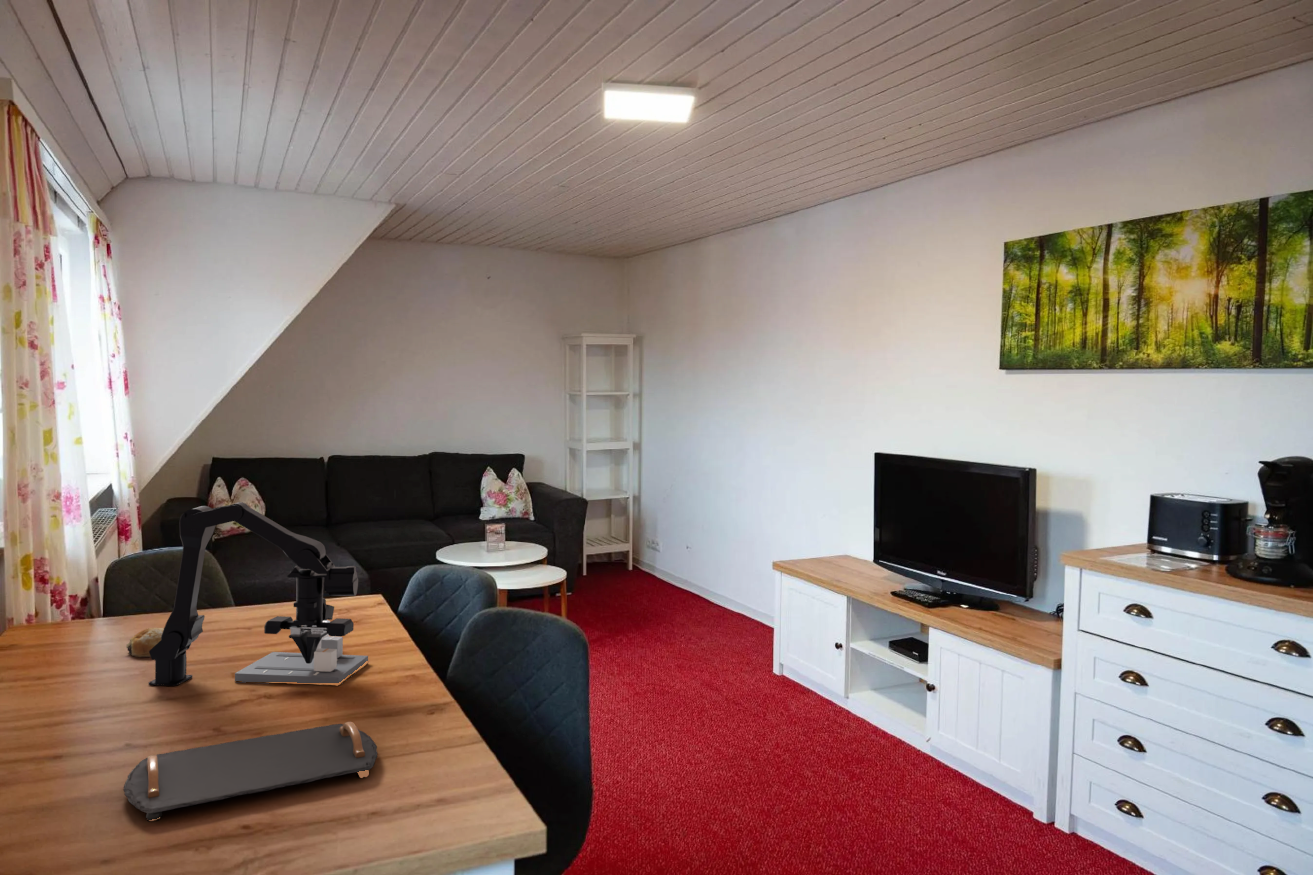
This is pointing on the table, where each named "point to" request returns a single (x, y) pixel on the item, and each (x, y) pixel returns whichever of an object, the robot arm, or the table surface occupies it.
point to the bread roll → (144, 642)
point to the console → (297, 669)
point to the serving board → (247, 767)
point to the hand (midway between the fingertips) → (309, 662)
